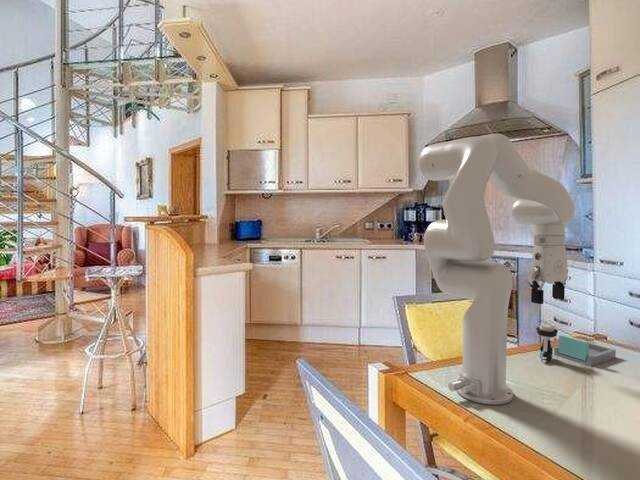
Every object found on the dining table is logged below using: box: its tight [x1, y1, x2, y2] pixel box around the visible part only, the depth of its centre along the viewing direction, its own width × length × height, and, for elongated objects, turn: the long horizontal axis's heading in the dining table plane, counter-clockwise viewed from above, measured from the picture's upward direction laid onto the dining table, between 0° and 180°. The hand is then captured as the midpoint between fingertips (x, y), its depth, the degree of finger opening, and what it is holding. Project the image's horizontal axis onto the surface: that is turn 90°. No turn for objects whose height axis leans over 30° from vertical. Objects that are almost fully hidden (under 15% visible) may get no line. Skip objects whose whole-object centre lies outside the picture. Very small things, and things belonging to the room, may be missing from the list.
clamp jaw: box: [558, 334, 590, 361], centre depth 110 cm, size 2×7×5 cm, turn 27°
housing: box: [553, 342, 617, 367], centre depth 113 cm, size 13×10×2 cm
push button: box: [535, 323, 559, 363], centre depth 110 cm, size 7×5×10 cm
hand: (547, 300), depth 109 cm, fingers open, 9 cm apart
